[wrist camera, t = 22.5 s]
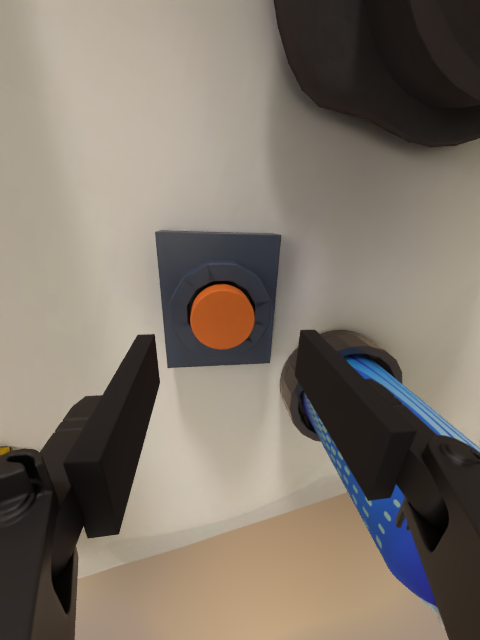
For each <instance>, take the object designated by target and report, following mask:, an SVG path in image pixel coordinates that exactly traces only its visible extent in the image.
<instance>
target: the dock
mask: <svg viewBox="0 0 480 640" xmlns="http://www.w3.org/2000/svg"><path fill="white" fill-rule="evenodd" d="M320 335H321V336H322V337H323V338H324V339H325V340H326V341H327V342H328V343H329V344H330V345H331V346H332V347H333V348H334V349H335V350H336V351H337V352H338V353H339V354H340V355H341V356H342V357H344V356H347V355H351V354H361V355H365V356H367V357H369V358H371V359H372V360H374V361H375V362H376V363H377V364H378V365H380V366H381V367H382V368H383V369H384V370H386V371H387V372H388V373H389V374H391V375H392V376H393V377H394V378H395V379H397V380H398V381H399V382H400V383H401V384H402V371H401V369H400V367H399V365H398V363H397V361H396V359H394V358H393V357H392V356H391V355H389V354H388V353H387V352H386V351H385V350H383V349H382V348H380V347H379V346H378V345H376V344H375V343H373V342H372V341H371V340H369V339H367V338H366V337H364V336H362V335H360V334H358V333H355V332H352V331H344V330H338V331H330V332H325V333H322V334H320ZM297 353H298V348H297V349H296V350H295V351H294V352H293V354H292V355H291V356H290V357H289V359H288V360H287V362H286V364H285V366H284V368H283V371H282V374H281V379H280V391H281V395H282V398H283V400H284V402H285V406H286V408H287V410H288V413H289V415H290V417H291V420H292V422H293V424H294V425H295V426H296V427H297V429H298V430H299V431H300V432H301V433H302V434H303V435H305V436H307V437H309V438H311V439H312V440H315V441H320V442H321V440H320V438H319V436H318V435H317V433H316V431H315V429H314V427H313V425H312V423H311V421H310V420H309V418H308V416H307V414H306V412H305V410H304V408H303V405H302V401H301V394H302V390H303V389H302V387H301V386H300V384H299V382H298V381H297V379H296V377H295V368H296V361H297Z"/></svg>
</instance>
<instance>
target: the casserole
mask: <svg viewBox="0 0 480 640" xmlns="http://www.w3.org/2000/svg"><path fill="white" fill-rule="evenodd" d="M274 5H275V12H276V18H277V25H278V29H279V33H280V36H281V39H282V43H283V46H284V50H285V53H286V56H287V60H288V63H289V65H290V67H291V69H292V71H293V73H294V75H295V77H296V79H297V81H298V83H299V85H300V87H301V89H302V91H303V92H304V93H305V94H307V95H308V96H309V97H310V98H311V99H312V100H313V101H314V102H315V103H316V104H317V105H318V106H319V107H322V108H326V109H330V110H334V111H338V112H341V113H345V114H349V115H353V116H357V117H360V118H364V119H368V120H369V121H371V122H373V123H375V124H376V125H378V126H380V127H382V128H384V129H385V130H387V131H389V132H391V133H393V134H395V135H396V136H398V137H400V138H402V139H404V140H406V141H407V142H410V143H414V144H419V145H424V146H428V147H441V146H455V145H458V144H462V143H465V142H468V141H472V140H475V139H478V138H480V0H274Z"/></svg>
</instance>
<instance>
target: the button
mask: <svg viewBox="0 0 480 640" xmlns="http://www.w3.org/2000/svg"><path fill="white" fill-rule="evenodd" d="M254 322H255V315H254V310H253V308H252V306H251V304H250V302H249V300H248V298H247V297H246V295H245V294H244V293H243V292H242V291H241V290H240V289H238V288H236V287H234V286H232V285H228V284H215V285H212V286H209V287H207V288H205V289H204V290H202V291H201V292H200V293H199V294H198V295H197V297H196V298H195V300H194V302H193V305H192V310H191V317H190V323H191V328H192V331H193V333H194V335H195V336H196V338H197V339H198V340H199V341H200V342H201V343H203V344H204V345H206V346H208V347H211V348H214V349H229V348H233V347H235V346H238V345H239V344H241V343H242V342H244V341H245V340H246V339H247V338H248V336H249V335H250V333H251V332H252V329H253V327H254Z"/></svg>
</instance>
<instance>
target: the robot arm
mask: <svg viewBox="0 0 480 640" xmlns="http://www.w3.org/2000/svg"><path fill="white" fill-rule="evenodd" d="M295 377H296V379H297V381H298V382H299V384H300V386H301V387H302V389H303V391H304V393H305V394H306V396H307V398H308V399H309V401H310V403H311V404H312V406H313V408H314V410H315V411H316V413H317V415H318V416H319V418H320V420H321V421H322V423H323V425H324V427H325V428H326V430H327V432H328V433H329V435H330V437H331V439H332V440H333V442H334V444H335V445H336V447H337V449H338V450H339V452H340V454H341V456H342V457H343V459H344V461H345V462H346V464H347V466H348V468H349V469H350V471H351V473H352V474H353V476H354V478H355V479H356V481H357V483H358V485H359V486H360V488H361V490H362V491H363V493H364V495H365V496H366V498H367V500H368V501H371V500H378V499H386V498H391V496H392V493H393V491H394V488H395V486H396V485H397V486H398V487H399V489H400V490H401V492H402V493H403V494H404V496H405V497H404V500H403V502H402V504H401V507H400V509H399V512H398V514H397V516H396V519H395V521H396V527H397V528H401V526H402V523H403V521H404V519H405V517H406V520H407V526H406V530H409V531H411V534H412V537H413V540H414V543H415V545H416V548H417V551H418V554H419V557H420V559H421V562H422V565H423V568H424V571H425V574H426V576H427V579H428V582H429V585H430V588H431V590H432V593H433V596H434V599H435V602H436V605H437V607H438V610H439V613H440V616H441V619H442V621H443V624H444V627H445V630H446V633H447V636H448V638H449V640H480V453H479V452H478V451H477V450H475V449H474V448H472V447H471V446H469V445H468V444H466V443H464V442H462V441H460V440H458V439H456V438H452V437H449V436H445V435H437V434H436V433H435V432H434V431H433V430H432V429H430V428H429V427H428V426H427V425H426V424H425V423H424V422H423V421H422V420H421V419H420V418H418V417H417V416H416V415H415V414H414V413H413V412H412V411H411V410H410V409H409V408H408V407H406V406H405V405H403V404H402V402H401V401H400V400H399V399H398V398H397V397H394V395H393V394H392V393H391V392H390V391H389V390H388V389H387V388H386V387H385V386H383V385H381V384H380V383H378V382H376V381H374V380H373V379H371V378H369V379H364V378H363V377H362V376H361V375H360V374H359V373H358V372H357V371H356V370H355V369H354V368H353V367H352V366H351V365H350V364H349V363H348V362H347V361H346V360H345V359H344V358H343V357H342V356H341V355H340V354H339V353H338V352H337V351H336V350H335V349H334V348H333V347H332V346H331V345H330V344H329V343H328V342H327V341H326V340H325V339H324V338H323V337H322V336H321V335H320V334H319V333H318V332H317V331H315V330H301V331H300V338H299V346H298V353H297V361H296V368H295ZM159 384H160V379H159V370H158V361H157V352H156V342H155V334H151V335H137V337H136V339H135V340H134V342H133V344H132V346H131V347H130V349H129V351H128V352H127V354H126V356H125V358H124V359H123V361H122V363H121V364H120V366H119V368H118V370H117V371H116V373H115V375H114V376H113V378H112V380H111V382H110V383H109V385H108V387H107V389H106V390H105V392H104V394H103V395H100V396H85V397H84V398H83V399H82V400H80V401H79V402H78V403H77V404H75V405H74V406H73V407H72V408H71V409H70V411H69V412H68V413H67V415H66V416H65V418H64V419H63V422H61V423H60V425H59V426H58V427H57V429H56V430H55V433H53V435H52V436H51V437H50V439H49V440H48V442H47V443H46V444H45V446H44V447H43V449H42V450H41V451H40V453H39V452H38V451H37V450H33V449H20V450H15V451H10V452H8V453H5V454H3V455H0V640H74V639H75V638H74V637H75V618H76V617H75V616H76V596H77V576H78V553H77V548H76V544H77V541H78V539H79V536H80V533H81V531H82V528H83V526H84V528H85V531H86V534H87V537H88V538H95V537H102V536H110V535H117V534H119V532H120V528H121V524H122V521H123V517H124V513H125V510H126V506H127V502H128V499H129V495H130V491H131V487H132V484H133V480H134V476H135V473H136V469H137V465H138V462H139V458H140V454H141V451H142V447H143V443H144V440H145V436H146V432H147V429H148V425H149V421H150V418H151V414H152V410H153V406H154V403H155V399H156V395H157V392H158V388H159Z"/></svg>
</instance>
